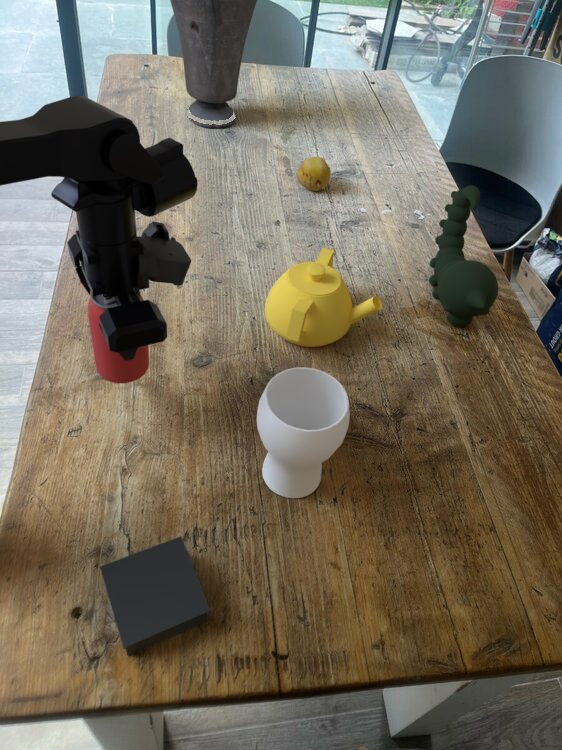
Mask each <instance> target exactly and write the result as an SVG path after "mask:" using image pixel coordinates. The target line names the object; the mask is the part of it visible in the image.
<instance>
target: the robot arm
mask: <svg viewBox="0 0 562 750" xmlns="http://www.w3.org/2000/svg"><path fill="white" fill-rule="evenodd" d="M140 135H141V134H140V133H139V129H138V126H136V124H135V122H134V121H133V120H131V119H130V118H128V117H126V116H124V115H122V114H120V113H118V112H116V111H114V110H112V109H110V108H109V107H107V106H104V105H103V104H101V103H99V102H97V101H95V100H92V99H91V98H89V97H86V96H84V95H73V96H69V97H66V98H63V99H59V100H56V101H53V102H50V103H45V104H44V105H43V106H42V107H40V109H38V110H37V111H36V112H35V113H34V114H33V115H30V116H27V117H24V118H20V119H13V120H4V121H0V187H1V186H6V185H11V184H16V183H21V182H27V181H33V180H36V179H37V180H39V179H42V178H49V177H51V178H52V177H53V178H54V177H55V178H56V177H57V178H63V179H62V181H60V183H59V182H58V184H57V185H56V186H55V187H54V188H53V190H52V191H51V193H50V196H51V197H52V198H53V199H54V200H56V201H57V202H59V203H60V204H63V205H64V206H65V207H67V208H68V209H70V210H71V211H73V212H74V213H75V215H76V221H77V227H78V230H75V234H73V235H72V236H71V237H70V238H69V239H68V241H67V243H66V244H67V249H68V255H69V258H70V260H71V262H72V264H73V267H74V268H75V273H76V274H77V277H78V279H79V281H80V284H81V285H82V286H83V288H84V289H85V291H86V292H87V294H88V295H89V296H90V292H92V295H93V296H98V295H102V297H103V299H104V300H108V299H112V298H113V297H114V298H115V301H116V303H117V305H118V306H116V307H111V308H107V309H106V310H105V311H104V312H103V313H102V314H101V315H100V316H99V320H100V324H99V327H100V329H101V332H102V334H103V336H104V339H105V341H106V343H107V346H108V348H109V350H110V351H113V352H116V353H119V354H120V355H121V357H122V358H123V359H124V360H125V361H128V360H132V359H134V357H135V355H136V352H137V349H138V347H142V346H147V345H148V346H150V345H154V344H158V343H163V342H165V341H166V339H167V338H168V324H167V321H166V319H165V317H164V316H163V314H162V312H161V310H160V309H159V308H160V307H159V306H158V305H157V304H156V303H154V302H152V300H149V299H143V300H144V301H140V300H139V298H138V296H137V294H136V292H135V290H134V288H138V290H140V291H141V290H146V289H150V282H153V283H164V284H173V285H174V286H182V285H183V284H184V282H185V279H186V276H187V274H188V272H189V269H190V266H191V264H192V258H191V257H190V255H189V253H188V252H187V250H186V249H185V248H184V246H183V245H182V244H181V243H180V242H179V241H178V240H177V239H176V238H175V237H174V236H171V237H170V233H169V230H168V229H167V227H166V226H165V223H163V222H159V221H152V222H150V223H149V224H148V226H146V228H145V229H144V230H143V231H142V232H141V235H140V236H138V234H137V221H136V212H139V214H141V215H142V216H144V217H151V218H152V217H155V216H156V215H159V214H161V213H163V212H165V211H167V210H169V209H172V208H173V207H176V206H178V205H180V204H183V203H184V202H186V201H189V200H191V199H192V198H194V197H195V196H196V193H197V192H198V185H199V184H198V177H196V173H195V171H194V168H193V166H192V163H191V162H190V160H189V159H188V157H187V156H186V155H185V154H184V144H183V143H181V142H179V141H177V140H176V139H174V138H171V137H167V138H164V139H162V140H160V141H159V142H157V143H155V144H154V145H151V146H148V147H145V146H143V144H142V143H141V136H140Z"/></svg>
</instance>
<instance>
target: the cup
mask: <svg viewBox="0 0 562 750" xmlns="http://www.w3.org/2000/svg"><path fill="white" fill-rule="evenodd" d="M350 415H351V413H350V401H349V397H348V393H347V391H346V390H345V387H344V386H343V385H342V384H341V383H340V382H339V380H337V378H336V377H334V376H332V375H330V373H327V372H325V371H323V370H320V369H317V368H312V367H305V366H303V367H299V366H298V367H297V366H296V367H292V368H287V369H284V370H282V371H280V372H278V373H276V374H275V375H274V376H273V377H272V378H271V379H269V381H268V382H267V385H266V386H265V387H264V390H263V392H262V394H261V396H260V398H259V401H258V406H257V412H256V426H257V427H256V428H257V432H258V434H259V437H260V441H261V442H262V445H263V447H264V448H265V450H266V451H267V453H266V456H265V458H264V460H263V463H262V468H261V473H262V478H263V480H264V483H265V485H266V486H267V487H268V488H269V489H270V490H271V491H272V492H273V493H274V494H276V495H279V496H281V497H283V498H287V499H300V498H304V497H307V496H309V495H311V494H313V493H314V492H315V491H316V490H317V488H318V487H319V485H320V483H321V481H322V471H323V468H322V467H323V464H322V463H324V462H326V461H327V460H329V459H330V458H331V457H332V455H333V454H334V453H335V452H336V451H337V450H338V449H339V448H340V447H341V445H342V444H343V442H344V440H345V438H346V436H347V432H348V429H349V425H350V417H351V416H350Z"/></svg>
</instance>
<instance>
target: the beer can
mask: <svg viewBox="0 0 562 750" xmlns="http://www.w3.org/2000/svg"><path fill="white" fill-rule="evenodd" d="M134 290H135V292H136V294H137V296H138V298H139V300H140V301H144V300H145V299H144V298H143V295H142V294H141V290H138V288H134ZM116 306H118V305H117V303H116V301H115V298H114V297H113V298H112V299H108V300H104V299H103V297H102V295H98V296H93V295H92V292H90V295H89V300H88V303H87V310H86V311H87V318H88V326H89V331H90V337H91V344H92V351H93V356H94V363H95V369H96V372H97V373H98V375H99V376H100V377H101V378H102V379H104V380H105V381H107V382H110V383H113V384H128V383H129V384H130V383H133V382H135V381H137V380H140V379H141V378H142V377H143V376H144V375H145V374H146V373H147V372H148V369H149V367H150V352H149V345H147V346H142V347H138V349H137V352H136V355H135V357H134V359H132V360H128V361H125V360H124V359H123V358H122V357H121V355H120V354H119V353H116V352H113V351H110V350H109V348H108V346H107V343H106V341H105V339H104V336H103V334H102V332H101V329H100V327H99V324H100V320H99V316H100V315H101V314H102V313H103V312H104V311H105V310H106V309H107V308H111V307H116Z"/></svg>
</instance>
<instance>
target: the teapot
mask: <svg viewBox="0 0 562 750" xmlns="http://www.w3.org/2000/svg"><path fill="white" fill-rule="evenodd" d="M334 254H335V250H332V249H329V248H326V247H322V248H321V251H320V252H319V254H318V255H317V258H316V260H315V261H303V262H300V263H296V264H295V265H292V266H291V267H289V269H287V270H286V271H285V272H284V273H283V274H282V275H281V276H280V277H279V278H278V279H276V281H275V282H274V284H273V285H272V287H271V289H269V292H268V295H267V296H266V300H265V305H264V317H265V319H266V322H267V324H268V326H269V327H270V328H271V329H272V330H273V331H274V333H276V334H277V335H278V336H279V337H280V338H282V339H283V340H285V341H287V342H288V343H290V344H293V345H295V346H300V347H305V348H317V347H318V348H319V347H323V346H327V345H329V344H332V343H334V342H336V341H339V340H340V339H341V338H343V337H344V336H345V335H346V334H347V333H348V331H349V330H350V328H351V326H352V325H353V324H355V323H357V322H358V321H361V320H363V319H365V318H367V317H369V316H371V315H373V314H375V313H377V312H379V311H381V310H383V302H382V301H381V299H380V298H379V297H378V296H376V295H375V296H372V297H370V298H369V299H367V300H365V301H363V302H361V303H359V304H357V305H356V306H354V307H353V301H352V296H351V294H350V291H349V289H348V286H347V285H346V283H345V280H344V279H343V277H342V276H341V275H340V274H339V272H338V271H337V270H336V269H334V268H333V263H334Z"/></svg>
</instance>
